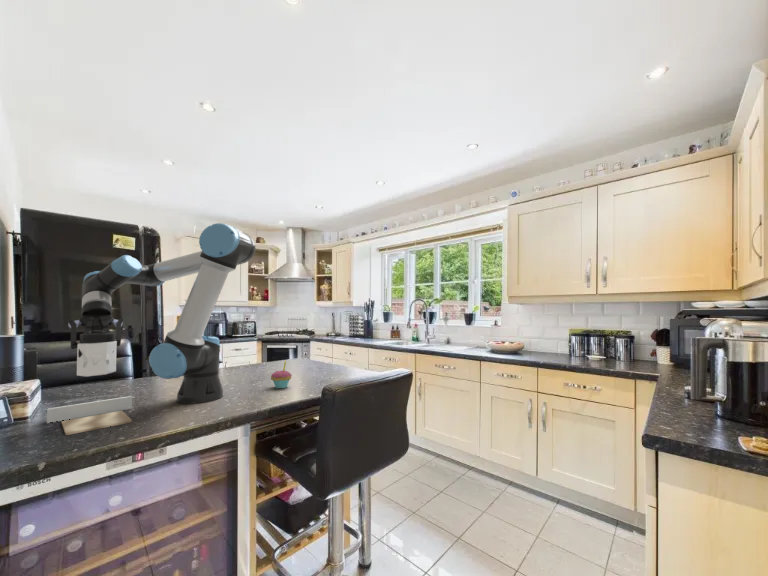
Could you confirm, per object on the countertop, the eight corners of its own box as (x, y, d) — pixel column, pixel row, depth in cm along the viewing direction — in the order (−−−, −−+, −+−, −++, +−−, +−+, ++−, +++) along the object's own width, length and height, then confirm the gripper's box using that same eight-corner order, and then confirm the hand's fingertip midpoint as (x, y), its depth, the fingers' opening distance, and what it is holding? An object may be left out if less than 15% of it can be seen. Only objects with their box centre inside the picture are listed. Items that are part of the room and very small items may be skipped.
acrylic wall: (130, 407, 112) (131, 395, 112) (131, 408, 111) (132, 396, 111) (46, 422, 97) (47, 408, 97) (46, 423, 96) (47, 409, 96)
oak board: (122, 412, 106) (122, 410, 106) (131, 422, 97) (131, 420, 97) (61, 423, 96) (61, 421, 96) (65, 435, 87) (66, 433, 87)
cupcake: (294, 385, 146) (294, 357, 147) (286, 390, 137) (287, 360, 138) (275, 385, 147) (276, 357, 147) (266, 389, 138) (267, 360, 139)
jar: (75, 378, 93) (76, 335, 94) (78, 373, 100) (79, 333, 100) (115, 373, 99) (116, 333, 100) (116, 369, 105) (117, 331, 106)
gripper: (128, 315, 117) (131, 368, 104) (60, 316, 106) (54, 376, 93) (130, 300, 114) (134, 352, 101) (60, 299, 102) (54, 358, 89)
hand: (96, 363), depth 97 cm, fingers closed on jar, 4 cm apart
